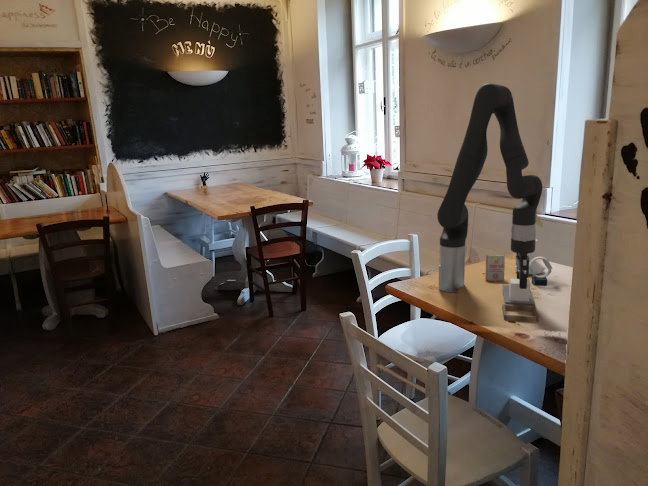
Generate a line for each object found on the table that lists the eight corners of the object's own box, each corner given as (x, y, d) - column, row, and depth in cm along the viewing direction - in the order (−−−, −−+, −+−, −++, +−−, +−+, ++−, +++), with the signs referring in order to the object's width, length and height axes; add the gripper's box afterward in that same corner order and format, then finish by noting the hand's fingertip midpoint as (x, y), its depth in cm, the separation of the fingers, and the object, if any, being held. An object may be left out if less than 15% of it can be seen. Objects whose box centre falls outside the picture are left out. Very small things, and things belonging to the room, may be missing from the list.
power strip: (505, 311, 169) (505, 300, 168) (502, 294, 185) (502, 283, 184) (534, 313, 167) (534, 301, 166) (528, 295, 182) (529, 284, 181)
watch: (552, 287, 189) (554, 259, 187) (529, 287, 191) (531, 259, 188) (548, 282, 195) (550, 255, 192) (526, 282, 196) (528, 254, 193)
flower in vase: (544, 277, 200) (549, 215, 194) (514, 275, 204) (517, 214, 198) (543, 268, 212) (547, 209, 206) (514, 266, 216) (517, 208, 210)
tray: (503, 324, 160) (504, 315, 159) (502, 312, 169) (502, 304, 168) (537, 326, 157) (538, 317, 156) (534, 314, 166) (535, 306, 165)
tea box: (485, 277, 203) (486, 253, 201) (503, 278, 202) (504, 254, 199) (485, 280, 200) (486, 256, 197) (503, 281, 198) (505, 256, 196)
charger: (509, 306, 170) (510, 283, 168) (508, 300, 175) (509, 278, 173) (528, 307, 168) (530, 284, 166) (527, 301, 173) (528, 279, 171)
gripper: (509, 232, 173) (507, 277, 177) (513, 242, 160) (511, 291, 164) (532, 232, 172) (530, 277, 175) (538, 242, 158) (536, 291, 162)
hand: (521, 284), depth 170 cm, fingers open, 8 cm apart
